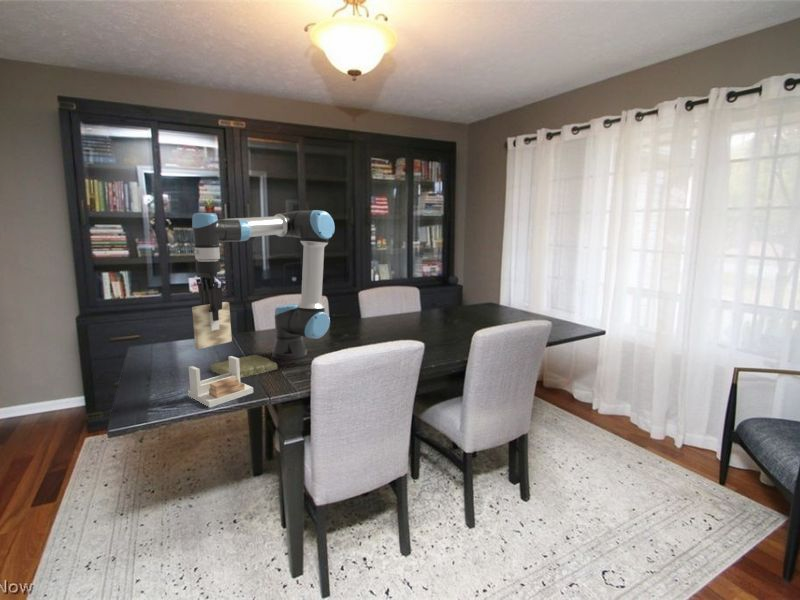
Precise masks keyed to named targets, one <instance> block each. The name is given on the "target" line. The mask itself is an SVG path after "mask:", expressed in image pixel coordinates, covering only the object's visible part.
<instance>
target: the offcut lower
mask: <svg viewBox="0 0 800 600" xmlns="http://www.w3.org/2000/svg"><path fill="white" fill-rule="evenodd" d="M244 384H245V383H244ZM244 384H243V382H241V381H240V382H239V385H238V386H234V387H231V388H228V389H225V390H222V391H219V392H215V391H213V390H211V389H209V395H211V396H213V397H215V398H220V397H223V396H226V395H229V394H232V393H235V392H239V391H242V390H245V387H244Z"/></svg>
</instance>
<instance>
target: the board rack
mask: <svg viewBox="0 0 800 600" xmlns="http://www.w3.org/2000/svg"><path fill="white" fill-rule="evenodd" d="M239 358H240V357H236V356H233V355H230V356H228V360H229V373H227V374H223V375H216V376H214V377H213V376H212V377H210V378H207V379H203V380H201V369H200V368H198V367H196V366H194V365H191V366H188V376H189V377H188V379H189V390H188V391H187V397H188V396H189V397H188V398H190V397H191V398H190V399H192V398H193V399H195V400H197V401H199V402H200V403H199V402H198V403H199V404H201V403H202V405H203V404H204V406H205V405H206V406H205V407H207V406H208V408H212V407H216V406H219V405H221V404H224V403H227V402H230V401H233V400H236V399H240V398H242V397H245V396H248V395H251V394H253V393H254V387H253V386H250V385H249V384H246V383H243V382H242V383H243V384H244V387H245V390H242V391H239V392H235V393H232V394H229V395H226V396H223V397H220V398H215V397H213V396H211V395H209V389H210V383H213V382H217V381H220V380H223V379H227V378H230V377H233V378H236V379H238V381H239V382H241V378H240V364H239ZM193 399H192V400H193ZM195 400H194V401H195ZM197 401H196V402H197Z"/></svg>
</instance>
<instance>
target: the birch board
mask: <svg viewBox="0 0 800 600" xmlns="http://www.w3.org/2000/svg"><path fill="white" fill-rule="evenodd" d="M191 309H192V310H191V311H192V321H193V322H192V324H193V337H194V346H195V347H194V348H195V349H197V350H200V349H205V348H209V347H213V346H218V345H222V344H226V343H231V342H233V339H232V327H231V326H232V325H231V323H232V322H231V310H230V309H231V308H230V302H228V301H222V309H221V310H219V311H218V315H219V329H218V330H213V331H211V327H210V314H209V310H211V308H210V304H209V305H202V306H201V305H197V306H196V305H195V306H192V307H191Z"/></svg>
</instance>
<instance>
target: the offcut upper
mask: <svg viewBox="0 0 800 600" xmlns="http://www.w3.org/2000/svg"><path fill="white" fill-rule="evenodd" d="M238 385H239V381H238V379H236V378H233V377H230V378H227V379H223V380H220V381H217V382H213V383H210V389H211V390H213V391H215V392H219V391H222V390H225V389H228V388H231V387H234V386H238Z"/></svg>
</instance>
